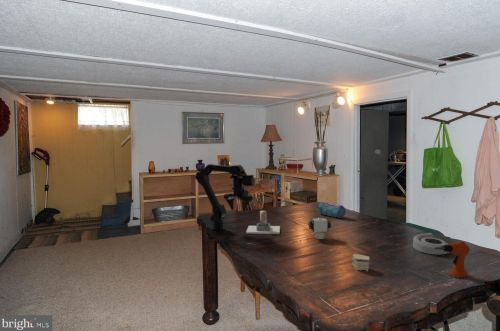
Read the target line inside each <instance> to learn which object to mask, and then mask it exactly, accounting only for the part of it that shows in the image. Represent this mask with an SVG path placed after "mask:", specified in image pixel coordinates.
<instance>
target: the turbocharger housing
mask: <svg viewBox="0 0 500 331" xmlns="http://www.w3.org/2000/svg"><path fill="white" fill-rule="evenodd" d="M412 241H413V242H412V247H413V249H414V248H415V251H417V250H418V251H417V252H419V251H420V252H419V253H421V252H424V253H429V254H447V253H448V254H450V252H447V251H444V250H441V249H435V247H443V246H444V245H448V244H449V243H448V242H446V241H444V240H443V239H440V238H436V237H434V234H433V233H431V232H428V233H419V234H416V235H415V236H413V239H412ZM424 253H423V254H424ZM429 254H428V255H429ZM448 254H447V255H448Z"/></svg>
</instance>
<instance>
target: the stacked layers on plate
mask: <svg viewBox="0 0 500 331" xmlns="http://www.w3.org/2000/svg"><path fill="white" fill-rule="evenodd" d="M351 259H352V265H353V267H354V270H355V269H356V270H355V271H357V270H360V271H361V270H366V271H365V272H369V268H370V256H368V255H363V254H359V253H355V254H352V258H351Z"/></svg>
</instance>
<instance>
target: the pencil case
mask: <svg viewBox="0 0 500 331" xmlns="http://www.w3.org/2000/svg"><path fill="white" fill-rule="evenodd" d="M315 209H317V211H318V213H319V214H320V215H323V216H326V215H327V217H330V216H331V218H336V217H337V218H336V219H338V218H339V219H342V218H343V217H344V216H345V215H346V208H345V207H344V205H332V204H328V203H327V202H325V201H322V202H320V203H319V204H318V205H316V208H315Z"/></svg>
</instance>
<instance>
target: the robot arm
mask: <svg viewBox="0 0 500 331" xmlns="http://www.w3.org/2000/svg"><path fill="white" fill-rule="evenodd" d="M212 172H221V173H222V172H223V173H229V174H230V176H229V179H232V187H231V190H232V192H227V193H224V195H223V199H224V200H225V201H226V202H227V204H228V205H229V207H230V209H231V211H233V210H234V208H235V206H234V201H235V199H239V200H242V201H241V208H242V212H243V213H245V212H246V210H247V206H248V205H249V203H250V202H251V201H253V199H254V198H253V195H252V194H249V193H250V190H246V189H245V187H255V184H256V179H255V177H254V174H247V172H246V171H245V170H244V167H243V165H241V164H235V165H223V164H213V163H210V164H206V166H205V167H204V168H202V169H201V170H200V171H198V172H196V173H195V180H196V182H197V183H198V184H200V186H202V188H203V190H204V192H205V195H206V196H207V199H208V200H209V203H210V204H211V210H212V211H211V212H212V215H211V217H209V220H210V222H211V228H210V231H213V232H220V231H223V230H225V227H224V221H223V219H225V216H226V215H227V209H226V207H225V205H224V204H221V203H220V202H219V200H218V198H217V196H216V194H215V191H214V189H213V188H212V186H211V184H210V175H211V174H212Z"/></svg>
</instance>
